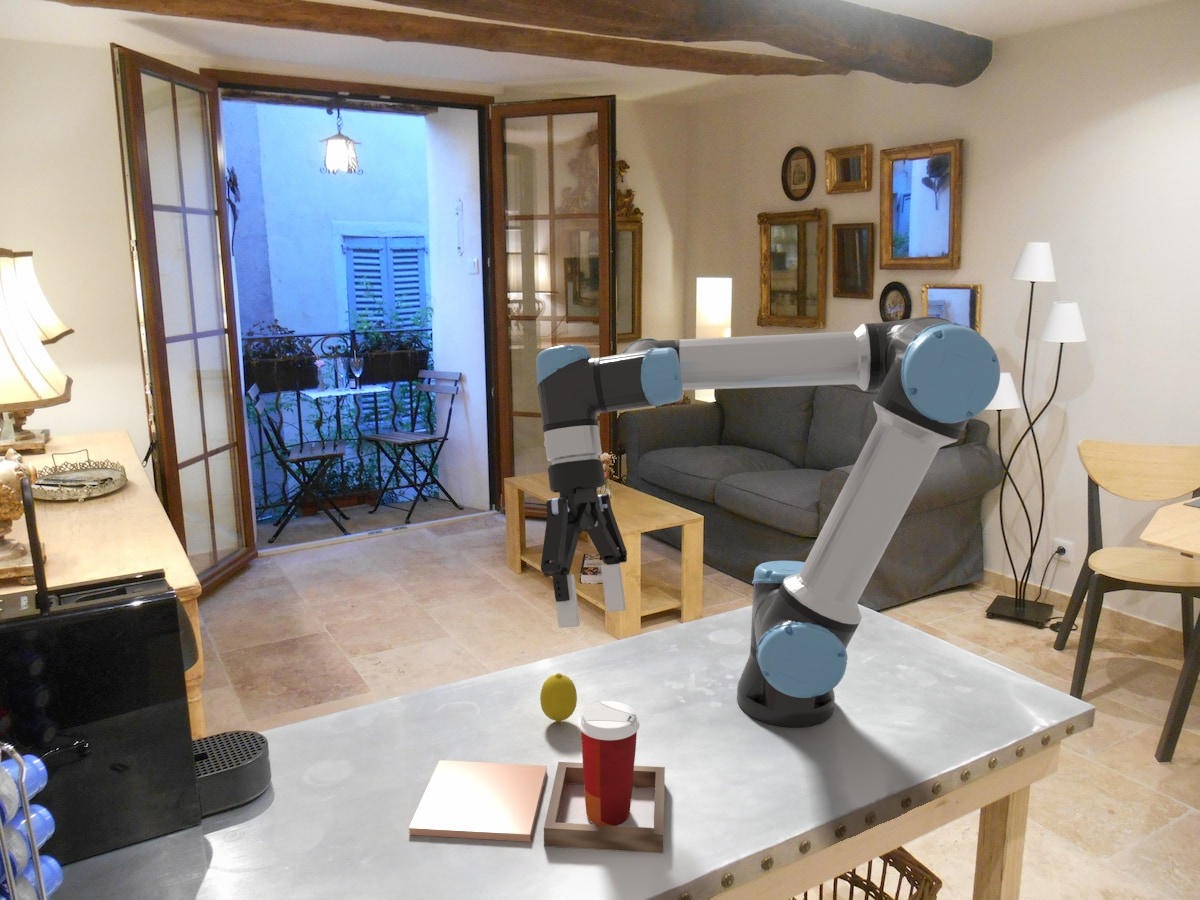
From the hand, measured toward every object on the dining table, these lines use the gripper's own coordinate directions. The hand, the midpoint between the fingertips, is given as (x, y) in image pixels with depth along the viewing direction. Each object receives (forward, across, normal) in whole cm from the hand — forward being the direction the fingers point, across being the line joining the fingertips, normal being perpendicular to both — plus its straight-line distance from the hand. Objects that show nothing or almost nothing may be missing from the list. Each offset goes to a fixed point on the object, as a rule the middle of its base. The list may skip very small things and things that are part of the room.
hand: (593, 618), depth 123 cm
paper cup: (+24, +3, 0) cm, 25 cm away
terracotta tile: (+22, +9, -15) cm, 28 cm away
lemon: (+17, -13, -15) cm, 26 cm away
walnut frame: (+24, +3, 0) cm, 25 cm away
